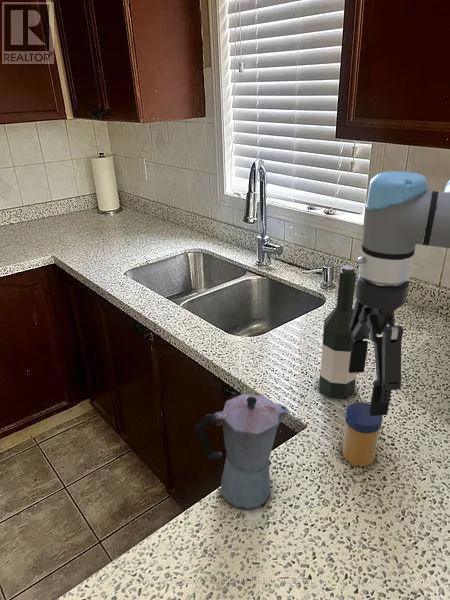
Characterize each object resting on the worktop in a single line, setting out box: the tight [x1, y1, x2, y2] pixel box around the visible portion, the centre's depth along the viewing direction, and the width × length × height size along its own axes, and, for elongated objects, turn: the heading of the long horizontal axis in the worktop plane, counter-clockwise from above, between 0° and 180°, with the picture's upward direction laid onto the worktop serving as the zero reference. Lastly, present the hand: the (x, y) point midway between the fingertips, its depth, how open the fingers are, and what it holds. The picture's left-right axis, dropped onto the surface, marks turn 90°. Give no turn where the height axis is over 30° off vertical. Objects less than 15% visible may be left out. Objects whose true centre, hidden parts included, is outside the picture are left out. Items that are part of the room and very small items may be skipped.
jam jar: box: [341, 421, 380, 467], centre depth 83 cm, size 6×6×9 cm
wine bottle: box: [318, 264, 357, 400], centre depth 96 cm, size 8×8×30 cm
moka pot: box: [194, 393, 291, 510], centre depth 74 cm, size 10×15×20 cm, turn 107°
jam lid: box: [344, 401, 384, 433], centre depth 81 cm, size 6×6×2 cm
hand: (366, 391), depth 78 cm, fingers open, 11 cm apart
